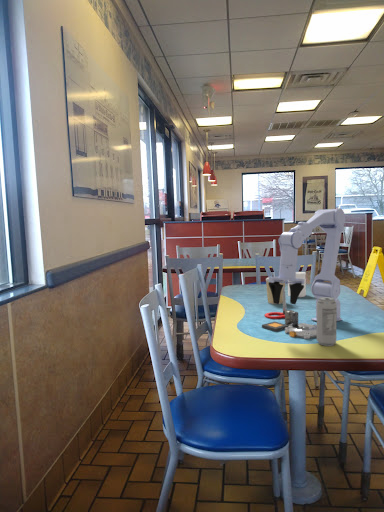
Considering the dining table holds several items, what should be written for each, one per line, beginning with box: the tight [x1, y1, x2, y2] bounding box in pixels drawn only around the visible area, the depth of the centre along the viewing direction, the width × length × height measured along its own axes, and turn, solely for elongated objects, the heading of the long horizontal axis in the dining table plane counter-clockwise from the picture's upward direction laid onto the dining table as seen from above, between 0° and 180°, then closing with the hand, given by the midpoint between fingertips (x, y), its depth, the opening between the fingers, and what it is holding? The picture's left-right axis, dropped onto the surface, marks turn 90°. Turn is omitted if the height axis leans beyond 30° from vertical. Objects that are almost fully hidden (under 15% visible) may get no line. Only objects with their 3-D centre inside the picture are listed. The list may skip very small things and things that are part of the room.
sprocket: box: [284, 311, 317, 340], centre depth 132 cm, size 14×14×6 cm
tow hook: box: [264, 286, 288, 320], centre depth 155 cm, size 8×13×9 cm
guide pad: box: [261, 321, 288, 332], centre depth 140 cm, size 7×7×1 cm
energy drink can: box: [316, 297, 338, 347], centre depth 120 cm, size 6×6×15 cm
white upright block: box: [287, 271, 307, 298], centre depth 195 cm, size 9×9×12 cm
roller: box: [284, 309, 295, 325], centre depth 144 cm, size 4×4×5 cm
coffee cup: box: [265, 276, 286, 305], centre depth 180 cm, size 9×9×12 cm
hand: (284, 303), depth 131 cm, fingers open, 7 cm apart
